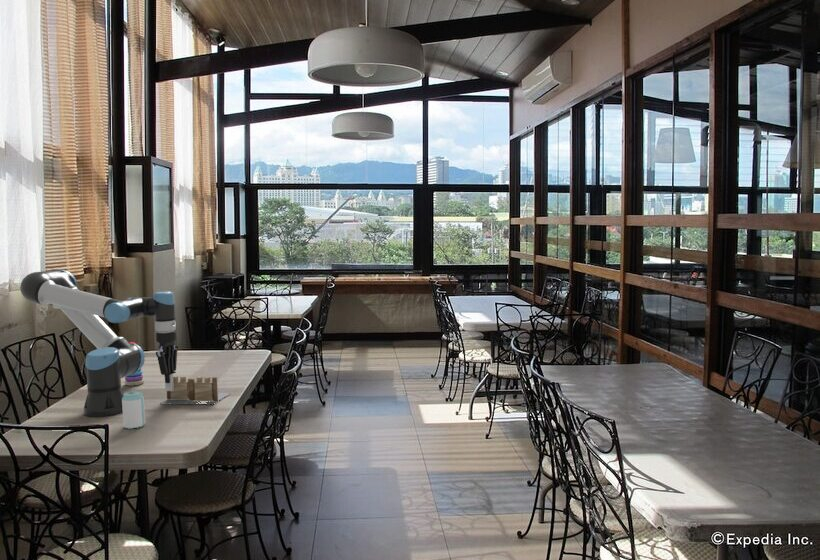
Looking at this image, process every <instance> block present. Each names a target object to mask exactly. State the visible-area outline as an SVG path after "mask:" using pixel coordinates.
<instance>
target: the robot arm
mask: <svg viewBox="0 0 820 560" xmlns="http://www.w3.org/2000/svg"><path fill="white" fill-rule="evenodd" d="M19 289H20V293H21V295H22V297H23V298H24V299H25V300H27V301H29V302H30V303H31V302H32V303H35V304H40V305H43V306H46V305H47V306H48V305H50V306H51V307H52V308H54V309H59V310H60V311H62V312H63V314H64V315H65V316H66V317H67V318H68V319H69V320H70V321H71V323H72V324H74V325H75V326H76V328H78V329H79V331H80V332H81V333H82V334H83V335H84V336H85V337H86V338H87V339H88V341H90V342H91V344H92V345H94V347H96V349H93V350H91V351H89V352H88V353H87V354H86V356H85V363H84V366H85V374H86V375H85V376H86V385H87V386H86V387H87V395H86V398H85V401H84V402H85V403H84V406H83V415H84V416H87V417H94V418H95V417H96V418H97V417H108V416H113V415H118V414H120V413H121V414H122V413H123V410H122V398H123V396H124V393H123V390H122V379H123V378H125V377H126V376H128V375H132V374H134V373H135V372H137V371H139V370H140V369H141V370H142V368H143V366H144V364H145V355H146V354H145V352H144V350H143V348H142V347H141V346H139V345H138V344H137V343H136V344H137V345H136V344H130V342H129V341H128V340H127V339H126V337H124V336H118V335H117V334H116V333H115V331H113V330H112V329H111V328H110V327H109V325H107V324H106V322H105V321H104V320H103V319H102V318H105V319H106V320H107V321H108V322H109V323H111V324H121V323H123V322H127V321H130V320H134V319H138V318H142V317H154V324H155V325H154V327H155V329H154V330H155V331H156V333H155V340H156V343H159V346H158V348H159V350H158V351H155V356H156V358H157V361H158V366H159V372H160V374H161V375H162V376H164V384H165V392H167V391H173V390H174V383H173V376H174V374H176V370H177V364H178V363H177V361H178V350H179V346H178V345H175V341H177V339H178V338H177V337H178V336H177V331H176V329H177V327H176V325H177V322H176V310H175V307H176V306H175V304H176V301H175V296H174V293H173V292H172V291H157V292H154V293H153V294H152V295H153V296H152V297H149V296H147V297H141V296H140V297H138V296H134V297H127V298H126V299H125V300H119V299H114V298H112V297H107V296H103V295H99V294H94V293H91V292H88V291H83V290H80V289H79V288H78V284H77V278H76V277H75V275H73V274H72V273H71V272H69V271H68V270H65V269H51V270H45V271H44V270H43V271H36V272H31V273H28V274H26V276H24V277H23V278H22V280H21V282H20V286H19Z"/></svg>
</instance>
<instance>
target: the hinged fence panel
mask: <svg viewBox="0 0 820 560" xmlns="http://www.w3.org/2000/svg"><path fill="white" fill-rule="evenodd" d="M173 383H174V390H173V391H166V400H167V399H179V400H188V399H189V387H188V380H187V376H186V375H185V376H177V375H175V376H174V375H173Z"/></svg>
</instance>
